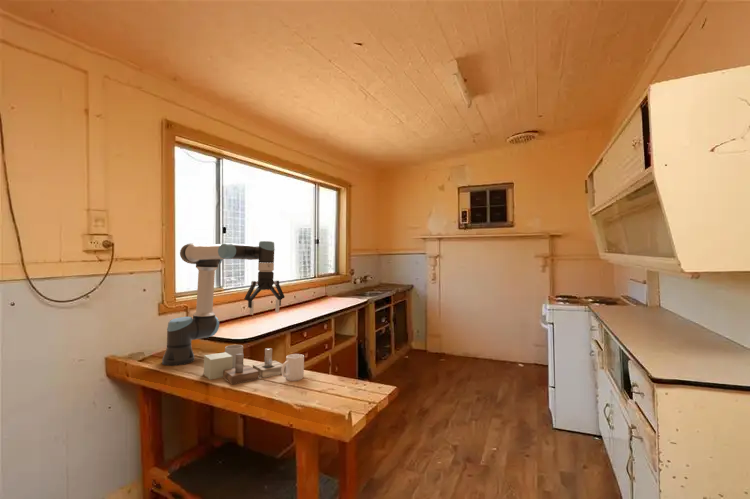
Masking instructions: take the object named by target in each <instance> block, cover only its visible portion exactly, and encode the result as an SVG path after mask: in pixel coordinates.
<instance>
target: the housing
mask: <svg viewBox="0 0 750 499" xmlns="http://www.w3.org/2000/svg"><path fill="white" fill-rule="evenodd" d="M232 364H233V356H231V355H230V354H228V353H226V352H225V351H224V352H219V353H211V354H204V355H203V374H202V375H204V377H206V378H207V379H208V380H210V381H211V380H215V379H221V378H223V370H227V369H232Z"/></svg>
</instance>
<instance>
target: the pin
mask: <svg viewBox="0 0 750 499" xmlns="http://www.w3.org/2000/svg"><path fill="white" fill-rule="evenodd" d="M272 361H273V348H271V347H270V348H269V347H267V348H264V363H265V365H264V368H265V369H266V368H271V367H272Z"/></svg>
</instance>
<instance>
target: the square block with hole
mask: <svg viewBox="0 0 750 499" xmlns="http://www.w3.org/2000/svg"><path fill="white" fill-rule="evenodd" d="M283 364H284V363H281V362H279V361H277V360H272V367H271V368H266V369H265V368H264V365H265V362H260V363H255V364H252V368H254V369H256V370H258V371H259V377H260V378H262V379H264V378H270V377H273V376H277V375H282V374H281V368H282V365H283ZM284 373H285V374H286V366H285V368H284Z"/></svg>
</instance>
